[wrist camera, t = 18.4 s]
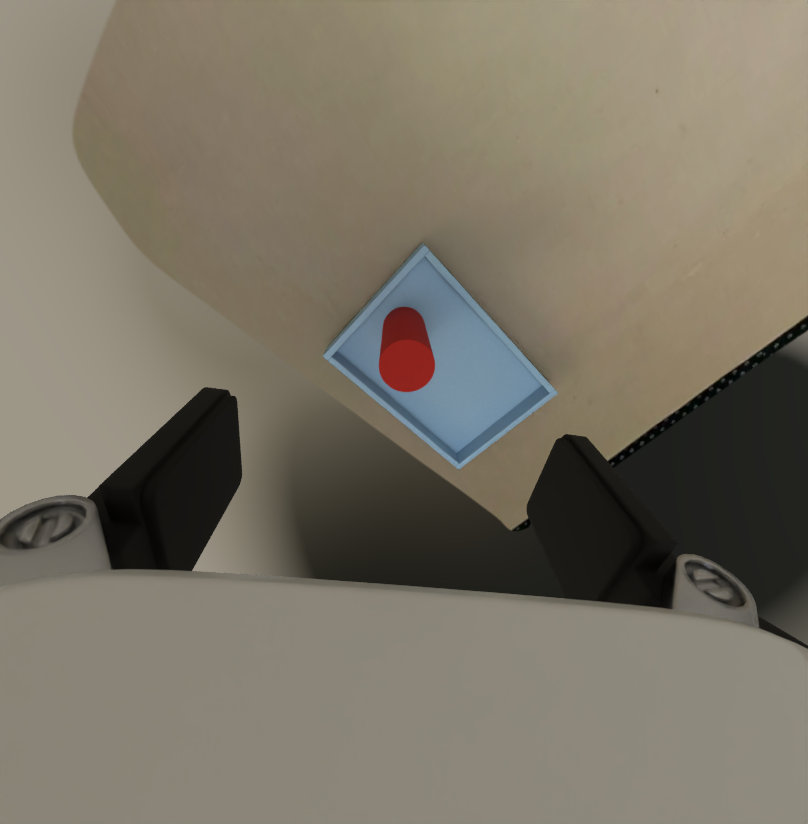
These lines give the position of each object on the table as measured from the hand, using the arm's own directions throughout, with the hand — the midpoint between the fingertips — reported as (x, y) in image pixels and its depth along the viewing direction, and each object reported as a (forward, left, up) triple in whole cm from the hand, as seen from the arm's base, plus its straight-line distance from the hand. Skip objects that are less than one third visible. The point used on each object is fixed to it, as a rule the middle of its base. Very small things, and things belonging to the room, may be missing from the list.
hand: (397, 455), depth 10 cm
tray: (+6, -7, -26) cm, 27 cm away
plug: (+1, -3, -25) cm, 25 cm away
